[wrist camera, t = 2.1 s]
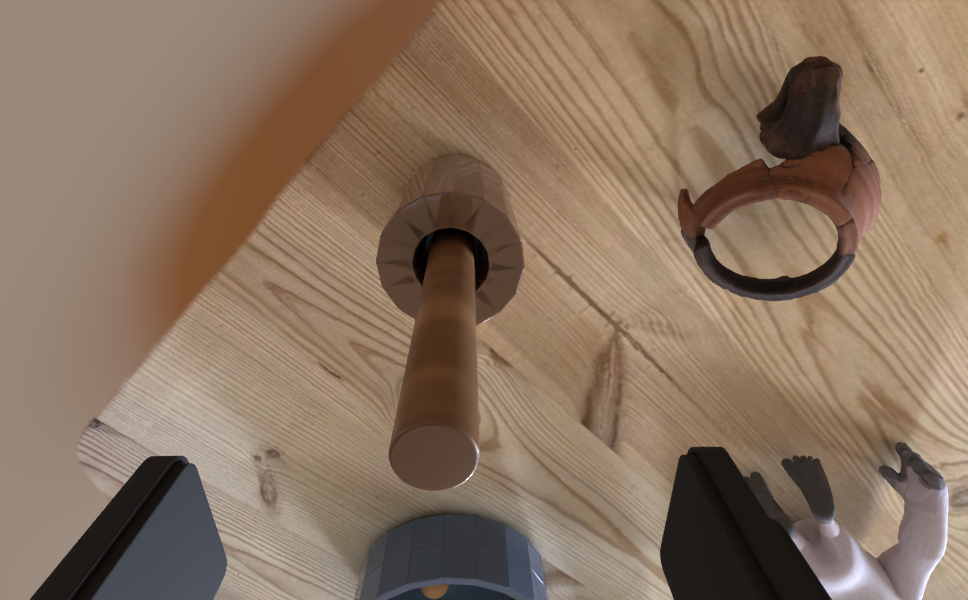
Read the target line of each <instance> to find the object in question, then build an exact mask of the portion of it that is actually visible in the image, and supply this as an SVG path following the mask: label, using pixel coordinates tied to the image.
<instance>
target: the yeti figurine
mask: <svg viewBox="0 0 968 600" xmlns="http://www.w3.org/2000/svg"><path fill="white" fill-rule="evenodd" d="M895 448H896V451H897V453H898V454H899V456H900V459H901V472H900V473H897V472H896V471H895V470H894V469H892V468H890V467H888V466H882V467H880V468H879V471H878V472H879V473H880V474H881V475H882V476H883V477H884V478H885V479H886V480H887V482H888V483H889V484H890V485H891V486H892V487H893V488H894V489H895V490H896V491H897V492H898V493H899V494H900V495H901V497H902V498H903V500H904V503H905V504H904V515H903V518H902V521H901V523H900V526H899V533H898V540H899V543H898V544H896V545H894V546H892V547H891V548H889V549H888V550H886V551H885V552H883V553H882V554H881V555H880V556H879V557H877V558H875V557H874V556H872V555H871V554H870V553H868V552H867V551H865V550H864V549H863V548H862V547H861V546H860V544H859V543H858V542H857V541H856V539H855V538H854V537H853V536H852V535H851V534H850V533H849V531H848V530H847V529H845V528H844V527H843V526H842V525H840V524H838V523H837V522H835V521H833V517H834V515H835V513H836V509H835V505H834V502H833V496H832V493H831V489H830V486H829V483H828V480H827V477H826V475H825V472H824V470H823V468H822V465H821V463H820V460H819V459H817V458H815V459H814V460H813V457H811V456H808V458H806V457H805V456H801V460H800V458H799V457H798V456H796V455H795V456H793V461H794V462H795V463H794V462H793V461H792V460H790V459H783V460H782V463H781V464H782V466H783V467H784V469H785V470H786V472H787V473H788V475H789V476H790V477H791V478H792V480H793V481H794V482H795V483H796V484H797V485H798V487H799V488H800V489H801V491H802V493H803V495H804V497H805V499H806V500H807V502H808V505H809V507H810V509H811V512H812V514H813V516H814V517H815V518H805V519H801V520H799V521H797V522H796V523H793V521H792V520H791V519H790V518H789V517H788V516H787V515H786V514H785V513H784V512H783V510H782V509H781V508H780V506H779V505H778V504H777V502H776V501H775V500H774V498H773V496H772V494H771V492H770V490H769V488H768V486H767V484H766V482H765V481H764V479H763V477H762V476H761V474H760V473H758V472H753V473H752V474H751V476H750V478H751V480H750V479H749V478H748V477H744V479H745V481H746V482H747V484H748V485H749V487H750V488H751V490H752V491H753V493H754V495H755V496H756V498H757V499H758V501H759V502H760V504H761V505H762V507H763V509H764V510H765V512H766V513H767V515H768V516H769V518H773V519H775V520H777V521H778V522H779V523H781V525H782V526H783V527H784V528H785V529H786V531H787V532H788V534H789V535H790V537H791V538H792V540H793V541H794V543H795V544H796V546H797V547H798V549H799V550H800V552H801V553H802V555H803V556H804V558H805V559H806V561H807V562H808V564H809V565H810V567H811V569H812V570H813V572H814V573H815V575H816V576H817V578H818V579H819V581H820V582H821V584H822V585H823V587H824V588H825V590H826V591H827V593H828V594H829V596H830V597H831V599H832V600H921V599H922V596H923V593H924V590H925V587H926V584H927V582H928V579H929V576H930V574H931V572H932V571H933V569H934V568H935V567H936V565H937V563H938V562H939V561H940V559H941V558H942V556H943V555H944V552H945V548H946V545H947V516H948V490H947V486H946V483H945V481H944V479H943V477H942V476H941V474H940V473H939V472H938V471H936V470H935V469H934V468H933V467H932V466H931V465H929V464H928V463H927V462H926V461H924V460H923V459H922V458H921V456H920V455H919V454H917V453H914V452H913V451H912V450H911V448H910V447H909V446H908V445H907V444H906V443H901V442H898V443H897V444H896V445H895ZM807 459H808V460H807ZM801 461H802V462H801Z"/></svg>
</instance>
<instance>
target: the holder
mask: <svg viewBox="0 0 968 600" xmlns="http://www.w3.org/2000/svg"><path fill="white" fill-rule="evenodd" d="M445 228H456V229H460V230H464V231H467V232H469V233H470V234H472V235H473V236H474V266H475V303H476V325H479V324H481V323H482V322H484V321H486V320H488V319H490V318H492V317H494V316H496V315H497V314H499V313H500V312H501V311H502V310H503V309H504V308H505V307H506V305H507V304H508V303H509V302H510V301H511V300H512V298H513V297H514V296H515V295H516V292H517V291H518V287H519V284H520V281H521V278H522V275H523V271H524V267H525V265H524V256H523V247H522V241H521V237H520V234H519V230H518V227H517V223H516V220H515V216H514V213H513V209H512V206H511V203H510V199H509V196H508V193H507V190H506V189H505V187H504V184H503V182H502V181H501V179H500V178H499V176H498V175H497V174H496V173H495V171H494V170H493V169H492V168H490V167H489V166H488V165H487V164H485V163H484V162H482V161H480V160H478V159H476V158H473V157H470V156H467V155H461V154H449V155H443V156H439V157H436V158H433V159H431V160H430V161H428V162H426V163H425V164H423V165H422V166H421V167H419V168H418V169H417V170H416V171H415V173H414V174H413V175H412V176H411V178H410V180H409V181H408V183H407V184H406V186H405V188H404V190H403V192H402V194H401V196H400V198H399V200H398V202H397V204H396V206H395V208H394V210H393V212H392V214H391V216H390V218H389V220H388V222H387V224H386V226H385V228H384V230H383V232H382V234H381V236H380V242H379V247H378V253H377V259H376V261H377V262H376V263H377V267H378V271H379V275H380V279H381V283H382V287H383V288H384V290H385V291H386V293H387V294H388V295H389V297H390V298H391V299H392V301H393V302H394V303H395V305H396V306H397V307H398V308H399V309H400V310H401V311H403V312H404V313H406V314H407V315H409V316H410V317H412V318H414V319H415V320H416V315H417V310H418V305H419V300H420V295H421V290H422V286H423V281H424V276H425V271H426V266H427V261H428V256H429V251H430V246H431V242H432V237H433V232H434V231H436V230H438V229H445Z"/></svg>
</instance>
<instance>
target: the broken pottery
mask: <svg viewBox="0 0 968 600" xmlns="http://www.w3.org/2000/svg"><path fill="white" fill-rule="evenodd" d="M842 77H843V71H842V68H841V66H840V65H838V64H836V63H834V62H832V61H830V60H829V59H828V58H826V57H823V56H818V57H808V58H806V59H804V60H803V61H802V62H801V63H799V64H798V65H796V66H794V67H793V68H791V69H790V71H789V72H788V74H787V76H786V78H785V81H784V83H783V85H782V88H781V90H780V92H779V94H778V96H777V98H776V99H775V100H774V101H773V102H772V103H771V104H770V105H769V106H767V107H766V108H765V109H763V110H762V111H761V112H759V113H758V114H757V119H758V120H759V121H760V123H761V125H760V130H761V133H760V141H761V143H762V144H763V145H764V146H765V148H766V149H767V151H768V152H769V153H771V154H772V155H773V156H776V157H777V158H785V159H786V160H785V161H784V162H783V163H781V164H780V165H778V166H775V167H773V168H768V167H767V165H766V164H765V162H764V161H763V160H762V159H758V160H755V161H753V162H751V163H750V164H748V165H746V166H744V167H742V168H740V169H739V170H737V171H735V172H733V173H731V174H729V175H727V176H726V177H724V178H723V179H722V180H721V181H719V182H718V183H717V184H715V185H714V186H712V187H711V188H709V189H708V190H707V191H705V192H704V193H703V194H702V195H701V196H700V197H699V198H698V200H697V201H696V202H695V204H694V205H693V204H692V202H691V200H690V197H689V192H688V190H687V189H681V190H680V193H679V199H678V218H679V221H680V226H681V228H682V230H681V234H682V236H683V238H684V240H685V241H686V243H687V244H688V246H689V248H690V249H691V250H692V252H693V254H694V257H695V259H696V261H697V264H698V265H699V267H700V268H701V269H702V271H703V272H704V274H705V275H706V276H707V277H708V278H709V279H710V280H711V281H712V282H713V283H715V284H716V285H718V286H720V287H721V288H723V289H728V290H729V291H730V292H732V293H734V294H737V295H739V296H742V297H748V298H751V299H755V300H765V301H781V300H791V299H794V298H800V297H803V296H807V295H810V294H813V293H816V292H819V291H820V290H822V289H824V288H826V287H828V286H830V285H832V284H833V283H834V282H836V281H837V280H838V279H839V278H840V277H841V276H842V275H843V274H844V273H845V272H846V271H847V269H848V268H849V267H850V265H851V264H852V262H853V260H854V258H855V252H856V250H857V247H858V242H859V238H861V237H862V236H863V235H865V234H866V233H868V231H869V230H870V229H871V228H872V227H873V225H874V223H875V221H876V218H877V216H878V212H879V206H880V202H881V187H880V176H879V172H878V169H877V166H876V164H875V162H874V161H873V160H872V159H871V157H870V156H869V154H868V153H867V151H866V150H865V148H864V147H863V146H862V145H861V143H860V142H859V141H858V140H857V139H856V138H855V137H854V136H853V135H852V134H851V133H850V132H849V131H848V130H847V129H846V128H845V127H844V126H842V125H841V124H840V123H839V120H840V106H839V96H840V88H841V81H842ZM776 198H779V199H785V200H794V201H797V202H801V203H805V204H808V205H810V206H812V207H815V208H816V209H818V210H820V211H822V212H823V213H824V214H826V215H827V216H828V217H829V218H830V219H831V220H832V221H833V223H834V224H835V226H836V229H837V231H838V243H837V249H836V251H835V252H834V254H833V255H832V257H831V258H830V259H829V260H828V261H827V262H826V263H824V264H823V265H822V266H820V267H819V268H817V269H816V270H814V271H812V272H810V273H808V274H805V275H802V276H799V277H795V278H790V277H788V276H782V277H779V278H775V279H758V278H753V277H748V276H743V275H740V274H737V273H735V272H733V271H731V270H729V269H727V268H726V267H725V266H723V265H722V264H721V263H720V262H719V261H718V260H717V259H716V258H715V256H714V254H713V252H712V250H711V247H710V243H709V240H708V239H707V238H706V237H705V236H704V234H705V229H706V228H708V229H713V228H715V227H716V225H717V224H718V223H719V222H720V221H721V220H722V219H723V218H725V217H726V216H727V215H728V214H729V213H731V212H732V211H734V210H736V209H738V208H740V207H743V206H745V205H748V204H751V203H755V202H760V201H765V200H771V199H776Z"/></svg>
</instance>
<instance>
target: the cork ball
mask: <svg viewBox="0 0 968 600" xmlns="http://www.w3.org/2000/svg"><path fill="white" fill-rule="evenodd" d="M448 587H449V584H439V585H434V586H428V587H422V588H421V591H422V593H423V594H424V595H425V596H426V597H428V598H430V599H437V598H440V597H442V596H443V595H444V594H445V593H446V591H447V589H448Z"/></svg>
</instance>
